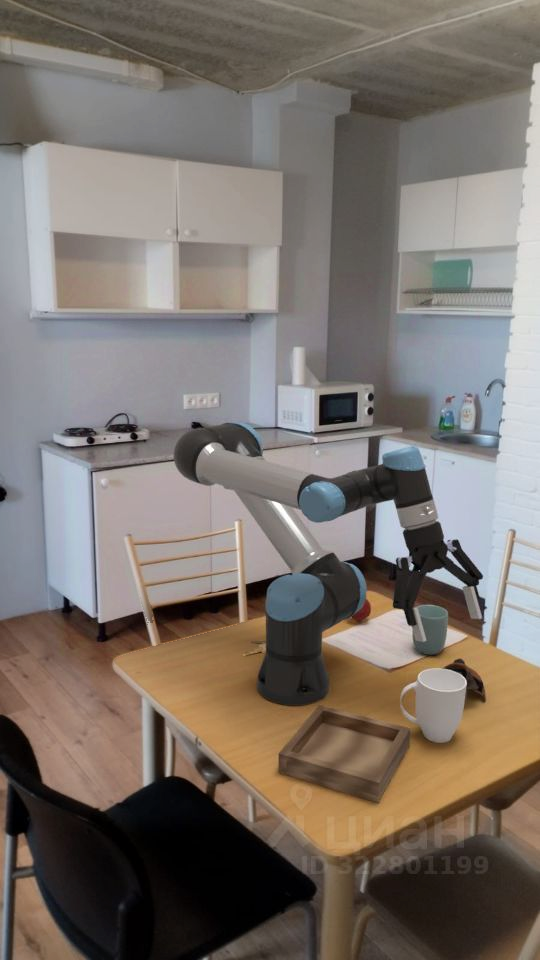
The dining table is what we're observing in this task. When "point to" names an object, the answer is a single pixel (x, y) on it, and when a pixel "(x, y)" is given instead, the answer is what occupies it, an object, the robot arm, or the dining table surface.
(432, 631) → the cup
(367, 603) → the onion
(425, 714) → the mug
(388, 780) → the tray
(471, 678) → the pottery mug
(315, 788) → the dining table surface
